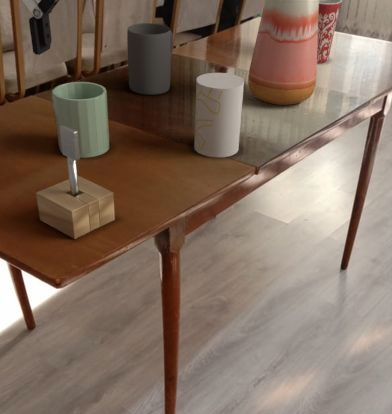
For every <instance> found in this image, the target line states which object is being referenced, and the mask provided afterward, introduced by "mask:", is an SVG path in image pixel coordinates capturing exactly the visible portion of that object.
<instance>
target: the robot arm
mask: <svg viewBox="0 0 392 414" xmlns="http://www.w3.org/2000/svg"><path fill="white" fill-rule="evenodd" d="M21 2H22V3H23V4H24V5H25V7H26V8H27V9H28V11H29V12H30V14H31V15H32V16H31V17H30V18H29V19H28V25H29V33H30V38H31V46H32V53H33V54H34V55H38V56H40V55H42V54H45V52H47V51H49V50H50V49H51V44H52V40H53V39H52V31H51V21H50V14H51V13H52V12H53V11H54V10H53V9H55V7H56V6H57V5H58V3H59V2H60V0H21Z"/></svg>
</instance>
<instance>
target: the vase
mask: <svg viewBox="0 0 392 414" xmlns="http://www.w3.org/2000/svg"><path fill="white" fill-rule="evenodd" d="M318 15H319V0H264V5H263V8H262V12H261V17H260V21H259V26H258V30H257V34H256V37H255V38H256V39H255V43H254V48H253V52H252V55H251V61H250V65H249V70H248V76H247V87H248V90H249V92H250V93H251V94H252V95H253V96H254V97H255V98H257V99H258V100H260V101H263V102H265V103H267V104H272V105H280V106H289V105H296V104H299V103H302V102H304V101H306V100H308V99H309V98H310V97H311V96H312V95H313V94H314V92H315V90H316V85H317V77H318V76H317V73H318V63H317V47H318Z"/></svg>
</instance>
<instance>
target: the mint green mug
mask: <svg viewBox="0 0 392 414" xmlns="http://www.w3.org/2000/svg"><path fill="white" fill-rule="evenodd" d="M51 97H52V106H53V107H52V108H53V115H54V124H55V125H56V133H57V134H56V135H57V141H58V149H59V151H60V153H62V145H61V136H60V126H66V127H68V128H70V129H73V130H75V131H77V132H78V143H79V154H80V159H86V158H87V159H89V158H94V157H99V156H101V155H104V154H105V153H107V152H108V151H109V150H110V128H109V110H108V109H109V108H108V93H107V88H106V87H104V86H103V85H101V84H98V83H95V82H89V81H72V82H66V83H63V84H59V85H57V86H56V87H54V88H53V89H52V90H51Z"/></svg>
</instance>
